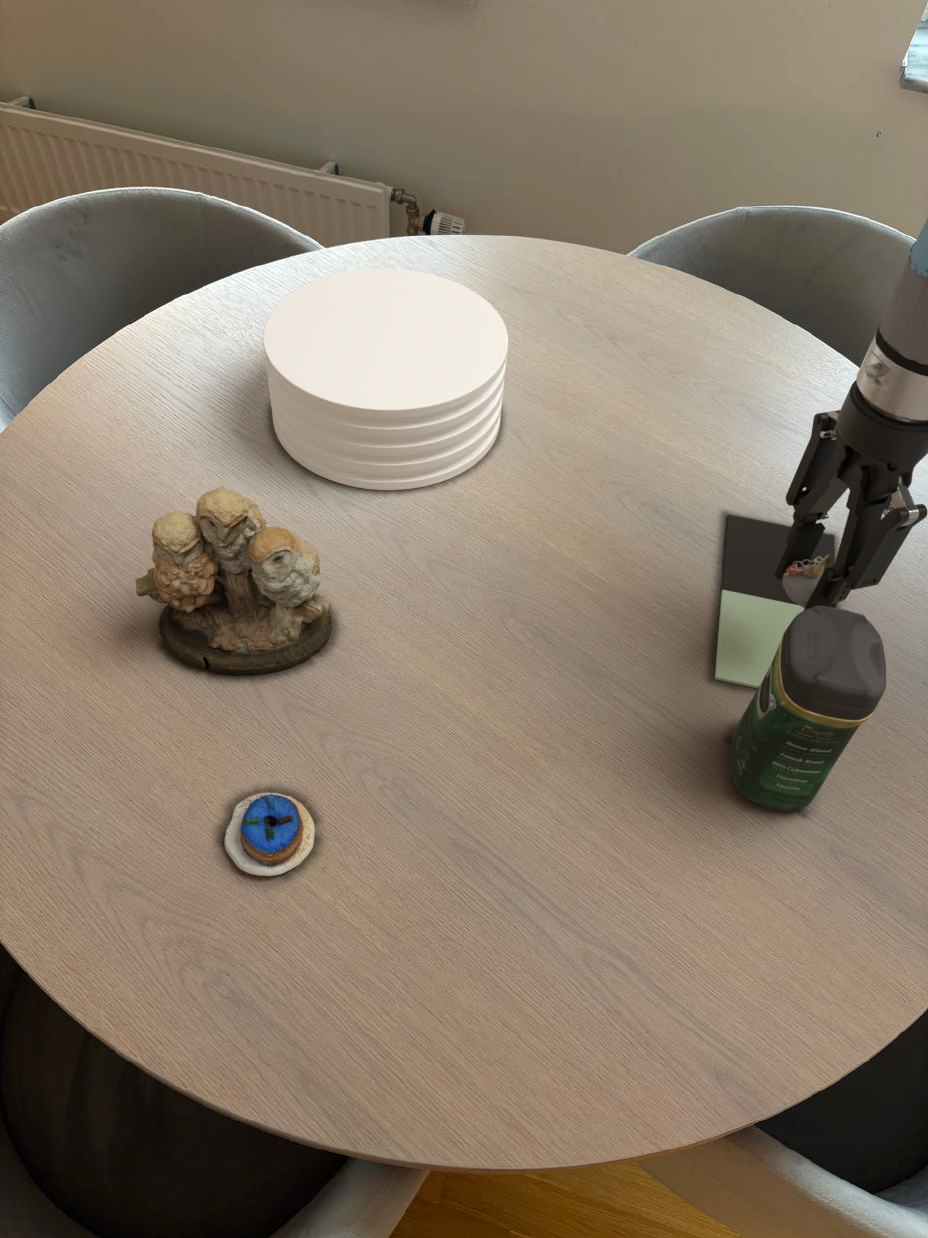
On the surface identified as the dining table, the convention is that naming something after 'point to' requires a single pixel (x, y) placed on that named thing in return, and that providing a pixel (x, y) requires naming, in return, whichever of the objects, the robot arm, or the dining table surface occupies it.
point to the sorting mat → (755, 598)
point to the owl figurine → (235, 588)
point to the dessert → (269, 834)
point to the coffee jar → (808, 707)
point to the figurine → (803, 580)
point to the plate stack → (385, 377)
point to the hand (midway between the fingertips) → (801, 594)
